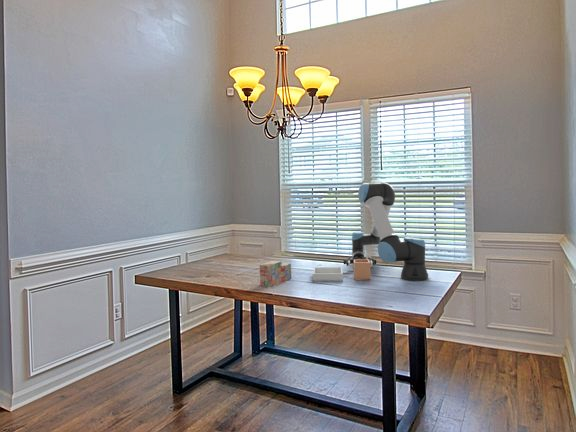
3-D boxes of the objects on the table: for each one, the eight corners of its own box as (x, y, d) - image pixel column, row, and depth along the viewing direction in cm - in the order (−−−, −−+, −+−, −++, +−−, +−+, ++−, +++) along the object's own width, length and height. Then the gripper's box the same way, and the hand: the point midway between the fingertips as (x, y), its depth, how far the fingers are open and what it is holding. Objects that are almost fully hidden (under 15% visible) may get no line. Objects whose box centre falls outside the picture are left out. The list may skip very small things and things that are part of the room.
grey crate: (342, 274, 253) (342, 267, 253) (342, 281, 237) (342, 273, 236) (314, 274, 255) (314, 267, 255) (312, 281, 238) (312, 273, 238)
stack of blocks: (283, 277, 251) (282, 257, 249) (291, 278, 247) (291, 258, 246) (260, 285, 234) (259, 264, 232) (268, 287, 230) (267, 265, 229)
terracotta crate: (369, 275, 248) (368, 259, 247) (370, 279, 239) (370, 262, 238) (353, 275, 249) (353, 259, 248) (354, 279, 240) (354, 262, 239)
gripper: (378, 263, 271) (381, 270, 250) (339, 263, 274) (340, 270, 253) (377, 252, 271) (381, 258, 250) (339, 252, 273) (339, 258, 252)
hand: (360, 264), depth 251 cm, fingers open, 13 cm apart
